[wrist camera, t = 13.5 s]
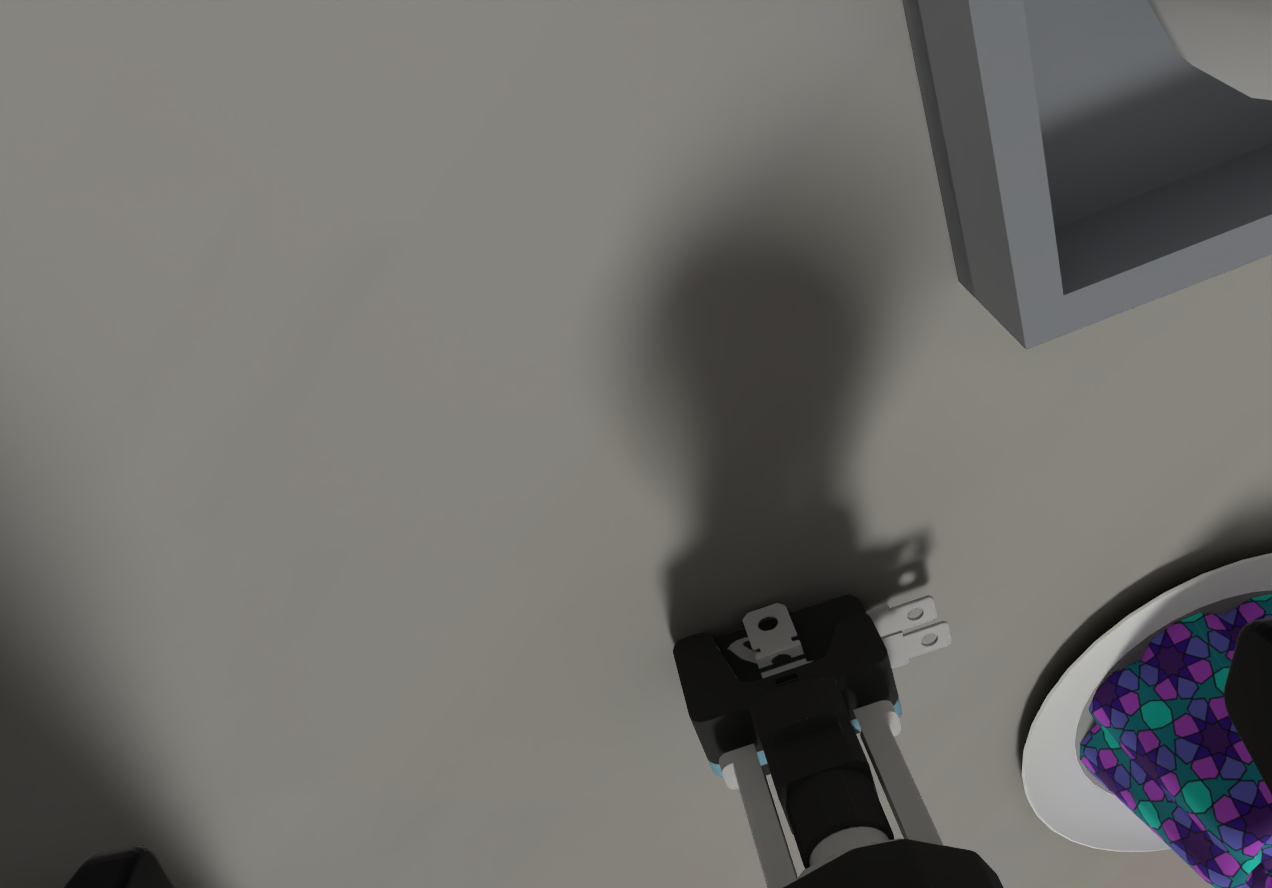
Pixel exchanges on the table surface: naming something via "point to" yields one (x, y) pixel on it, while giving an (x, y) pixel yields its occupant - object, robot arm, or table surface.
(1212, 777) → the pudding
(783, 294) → the table surface
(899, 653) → the push button
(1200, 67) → the salt shaker
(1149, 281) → the grey tray
